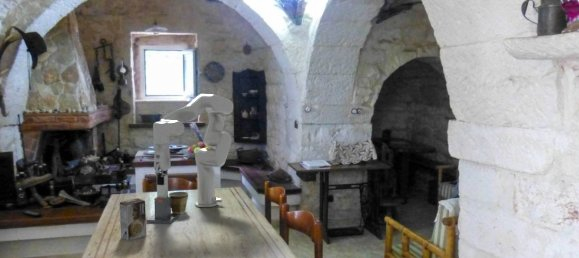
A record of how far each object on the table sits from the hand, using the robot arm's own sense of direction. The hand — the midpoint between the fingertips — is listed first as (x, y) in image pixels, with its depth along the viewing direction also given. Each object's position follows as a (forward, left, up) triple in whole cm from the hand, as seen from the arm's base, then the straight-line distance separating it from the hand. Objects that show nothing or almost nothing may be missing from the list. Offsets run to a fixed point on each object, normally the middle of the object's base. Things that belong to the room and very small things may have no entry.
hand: (162, 183), depth 225 cm
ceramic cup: (-2, -14, -18) cm, 23 cm away
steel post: (0, 0, -11) cm, 11 cm away
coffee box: (+3, +26, -18) cm, 32 cm away
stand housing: (0, 0, -18) cm, 18 cm away
